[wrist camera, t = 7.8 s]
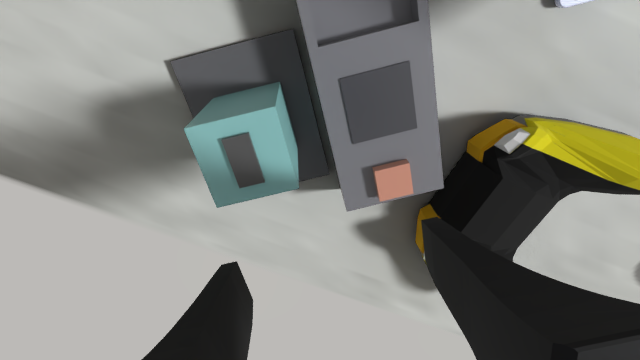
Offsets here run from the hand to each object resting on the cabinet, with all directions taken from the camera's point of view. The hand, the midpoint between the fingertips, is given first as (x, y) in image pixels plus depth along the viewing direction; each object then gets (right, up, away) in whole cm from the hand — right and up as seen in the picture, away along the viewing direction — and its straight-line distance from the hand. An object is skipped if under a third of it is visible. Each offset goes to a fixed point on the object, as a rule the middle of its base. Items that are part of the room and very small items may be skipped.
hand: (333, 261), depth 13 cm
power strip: (+2, +10, +7) cm, 12 cm away
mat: (-4, +7, +8) cm, 11 cm away
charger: (-4, +7, +8) cm, 11 cm away
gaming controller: (+12, +2, +12) cm, 17 cm away
